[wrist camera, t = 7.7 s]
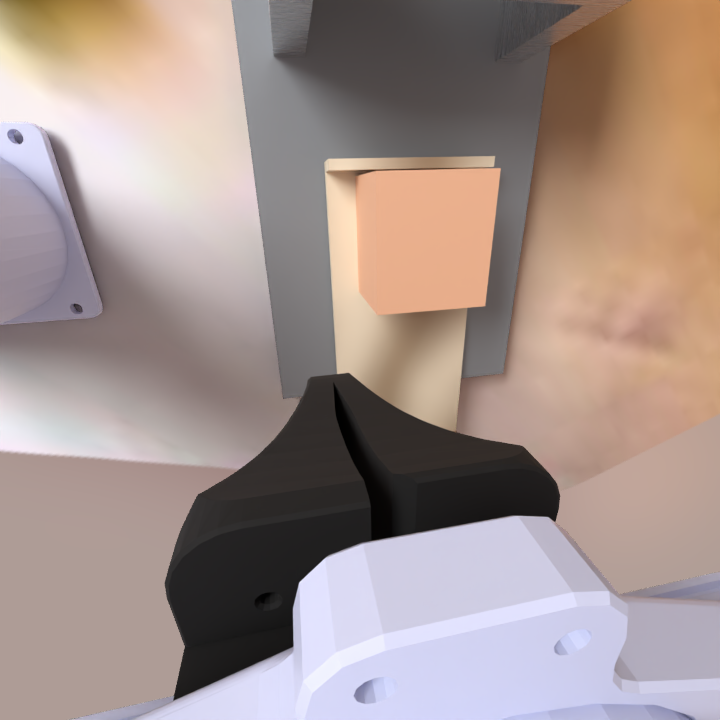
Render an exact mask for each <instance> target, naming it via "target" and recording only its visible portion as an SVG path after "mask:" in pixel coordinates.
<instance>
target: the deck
mask: <svg viewBox="0 0 720 720" xmlns="http://www.w3.org/2000/svg"><path fill="white" fill-rule="evenodd" d="M231 1H232V9H233V16H234V24H235V32H236V39H237V47H238V55H239V62H240V70H241V78H242V86H243V93H244V101H245V109H246V116H247V124H248V132H249V139H250V147H251V155H252V162H253V170H254V178H255V185H256V193H257V201H258V209H259V216H260V224H261V232H262V239H263V247H264V255H265V262H266V270H267V278H268V285H269V293H270V301H271V308H272V316H273V324H274V332H275V339H276V347H277V355H278V362H279V370H280V378H281V385H282V393H283V399H285V398H293V397H302V396H303V394H304V392H305V389H306V386H307V380H308V379H309V378H310V377H315V376H324V375H333V374H337V368H336V351H335V334H334V318H333V301H332V284H331V268H330V251H329V234H328V218H327V201H326V184H325V168H324V162H325V161H326V160H327V159H342V158H405V157H469V156H495V162H494V167H489V168H501V171H500V180H499V189H498V197H497V206H496V215H495V224H494V233H493V241H492V250H491V259H490V268H489V277H488V286H487V294H486V303H485V306H483V307H471V308H467V318H466V329H465V339H464V350H463V361H462V371H461V378H467V377H476V376H485V375H494V374H502V373H503V371H504V364H505V357H506V350H507V343H508V336H509V329H510V323H511V316H512V309H513V302H514V295H515V288H516V281H517V274H518V267H519V260H520V254H521V247H522V240H523V233H524V226H525V219H526V212H527V205H528V198H529V191H530V185H531V178H532V171H533V164H534V157H535V150H536V143H537V136H538V129H539V123H540V116H541V109H542V102H543V95H544V88H545V81H546V74H547V67H548V60H549V54H550V47H551V46H549V47H548V48H546V49H544V50H542V51H541V52H539V53H537V54H535V55H533V56H532V57H530V58H528V59H526V60H525V61H523V62H521V63H512V62H495V54H496V44H497V34H498V23H499V13H500V3H501V1H500V0H313V4H312V11H311V18H310V25H309V31H308V38H307V45H306V52H305V57H290V56H273V46H272V36H271V26H270V16H269V6H268V0H231ZM482 169H484V168H482Z"/></svg>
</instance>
